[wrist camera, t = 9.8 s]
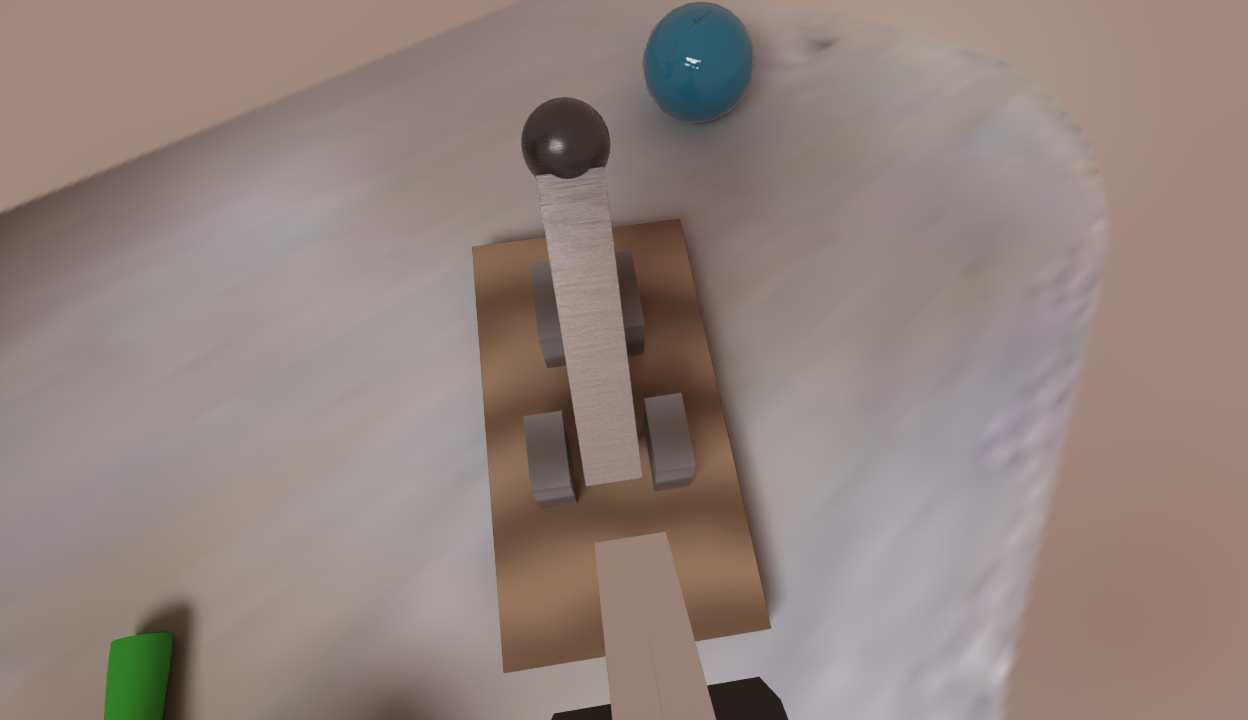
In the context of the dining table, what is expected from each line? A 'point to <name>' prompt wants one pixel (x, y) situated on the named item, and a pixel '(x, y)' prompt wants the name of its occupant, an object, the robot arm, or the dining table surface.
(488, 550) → the dining table surface
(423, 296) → the dining table surface
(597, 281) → the lever
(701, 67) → the ball
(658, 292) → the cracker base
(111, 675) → the green onion
